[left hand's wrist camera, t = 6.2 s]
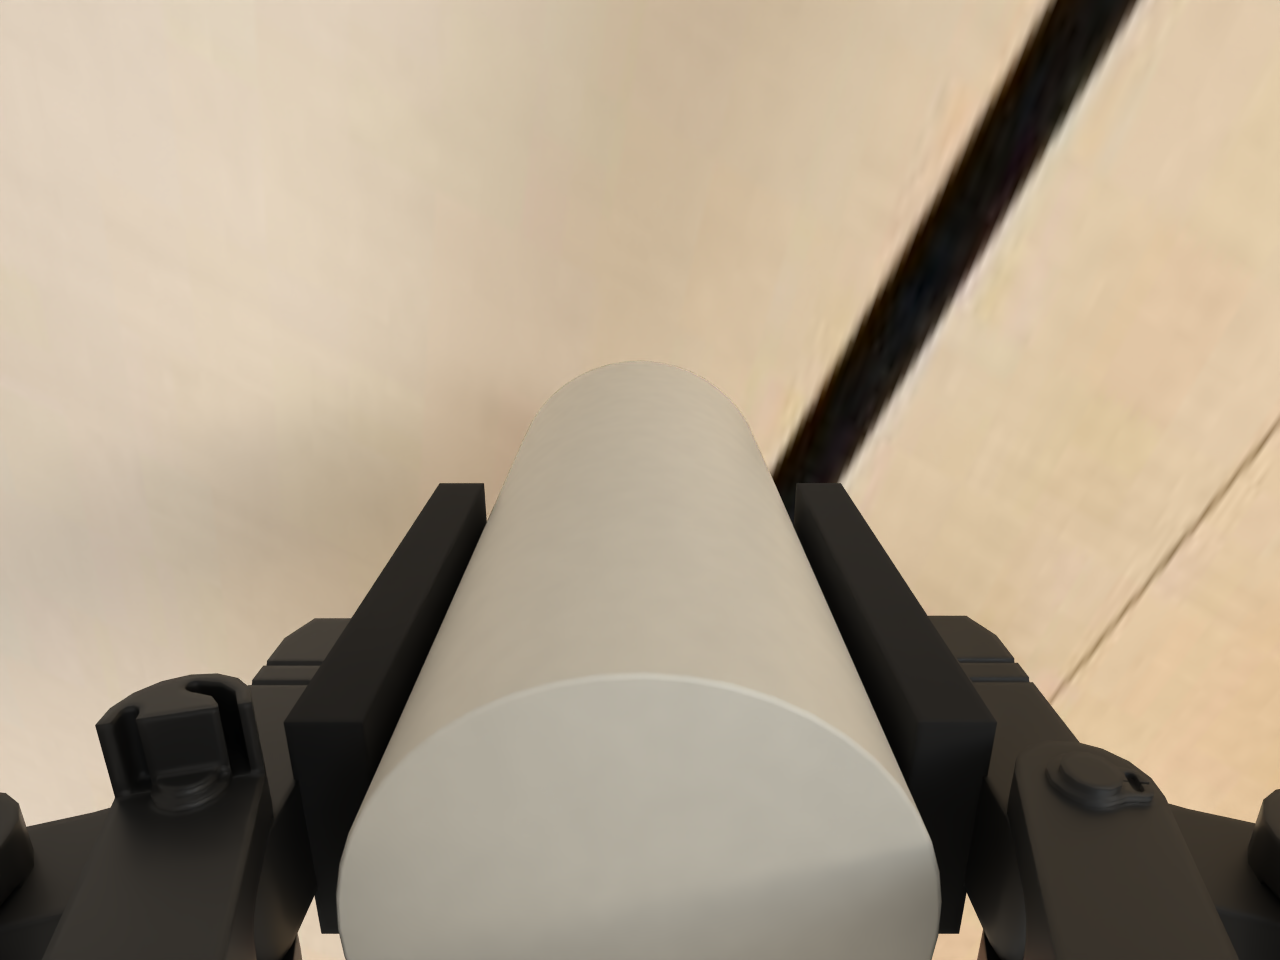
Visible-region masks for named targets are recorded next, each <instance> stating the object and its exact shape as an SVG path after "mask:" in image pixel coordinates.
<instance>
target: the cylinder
mask: <svg viewBox="0 0 1280 960" xmlns="http://www.w3.org/2000/svg"><path fill="white" fill-rule="evenodd" d="M941 903H942V901H941V887H940V872H939V868H938V864H937V860H936V856H935V852H934V848H933V844H932V841H931V839H930V836H929V834H928V832H927V829H926V827H925V825H924V823H923V820H922V818H921V816H920V814H919V811H918V809H917V807H916V804H915V802H914V800H913V798H912V795H911V793H910V791H909V789H908V786H907V784H906V782H905V779H904V777H903V775H902V773H901V770H900V768H899V766H898V764H897V761H896V759H895V757H894V754H893V752H892V750H891V748H890V745H889V743H888V741H887V739H886V736H885V734H884V732H883V729H882V727H881V725H880V723H879V720H878V718H877V716H876V713H875V711H874V709H873V707H872V704H871V702H870V700H869V698H868V695H867V693H866V691H865V688H864V686H863V684H862V682H861V679H860V677H859V675H858V673H857V670H856V668H855V666H854V663H853V661H852V659H851V657H850V654H849V652H848V650H847V648H846V645H845V643H844V641H843V638H842V636H841V634H840V632H839V629H838V627H837V625H836V622H835V620H834V618H833V616H832V613H831V611H830V609H829V607H828V604H827V602H826V600H825V597H824V595H823V593H822V591H821V588H820V586H819V584H818V582H817V579H816V577H815V575H814V572H813V570H812V568H811V566H810V563H809V561H808V559H807V557H806V554H805V552H804V550H803V547H802V545H801V543H800V541H799V538H798V536H797V534H796V532H795V529H794V527H793V525H792V522H791V520H790V518H789V516H788V513H787V511H786V509H785V506H784V504H783V502H782V500H781V497H780V495H779V493H778V491H777V488H776V486H775V484H774V481H773V479H772V477H771V475H770V472H769V470H768V468H767V466H766V463H765V461H764V459H763V456H762V454H761V452H760V450H759V447H758V445H757V443H756V441H755V438H754V436H753V434H752V431H751V429H750V427H749V425H748V423H747V421H746V420H745V418H744V417H743V415H742V413H741V412H740V410H739V409H738V408H737V407H736V406H735V404H734V403H733V402H732V401H731V400H730V398H728V397H727V396H726V395H725V394H724V393H723V392H722V391H721V390H720V389H719V388H717V387H716V386H714V385H713V384H712V383H710V382H709V381H707V380H706V379H704V378H702V377H700V376H698V375H696V374H694V373H692V372H691V371H688V370H685V369H682V368H679V367H677V366H673V365H669V364H664V363H659V362H649V361H629V362H621V363H615V364H609V365H606V366H603V367H600V368H596V369H593V370H591V371H589V372H587V373H585V374H582V375H580V376H578V377H576V378H575V379H573V380H572V381H570V382H569V383H567V384H566V385H564V386H563V387H562V388H561V389H559V390H558V391H557V392H556V393H555V394H553V395H552V396H551V397H550V398H549V400H548V401H547V402H546V403H545V404H544V405H543V406H542V407H541V409H540V410H539V412H538V413H537V415H536V416H535V418H534V419H533V421H532V423H531V425H530V427H529V429H528V431H527V433H526V435H525V437H524V440H523V442H522V444H521V446H520V449H519V451H518V453H517V455H516V458H515V460H514V462H513V464H512V467H511V469H510V471H509V473H508V476H507V478H506V480H505V482H504V485H503V487H502V489H501V491H500V494H499V496H498V498H497V500H496V503H495V505H494V507H493V509H492V512H491V514H490V516H489V518H488V521H487V523H486V525H485V527H484V530H483V532H482V534H481V536H480V539H479V541H478V543H477V545H476V548H475V550H474V552H473V554H472V557H471V559H470V561H469V563H468V566H467V568H466V570H465V572H464V575H463V577H462V579H461V581H460V584H459V586H458V588H457V590H456V593H455V595H454V597H453V599H452V602H451V604H450V606H449V608H448V611H447V613H446V615H445V617H444V620H443V622H442V624H441V627H440V629H439V631H438V633H437V636H436V638H435V640H434V642H433V645H432V647H431V649H430V651H429V654H428V656H427V658H426V660H425V663H424V665H423V667H422V669H421V672H420V674H419V676H418V678H417V681H416V683H415V685H414V687H413V690H412V692H411V694H410V696H409V699H408V701H407V703H406V705H405V708H404V710H403V712H402V714H401V717H400V719H399V721H398V723H397V726H396V728H395V730H394V732H393V735H392V737H391V739H390V741H389V744H388V746H387V748H386V750H385V753H384V755H383V757H382V759H381V762H380V764H379V766H378V768H377V771H376V773H375V775H374V777H373V780H372V782H371V784H370V786H369V789H368V791H367V793H366V795H365V798H364V800H363V802H362V804H361V807H360V809H359V811H358V813H357V816H356V818H355V820H354V822H353V825H352V827H351V829H350V831H349V834H348V837H347V840H346V844H345V847H344V850H343V854H342V857H341V860H340V864H339V872H338V880H337V889H336V904H337V921H338V930H339V934H340V939H341V943H342V947H343V951H344V956H345V959H346V960H931V959H932V956H933V952H934V949H935V945H936V942H937V938H938V932H939V923H940V913H941Z"/></svg>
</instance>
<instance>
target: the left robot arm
mask: <svg viewBox="0 0 1280 960" xmlns="http://www.w3.org/2000/svg"><path fill="white" fill-rule="evenodd" d="M486 523H487V520H486V506H485V492H484V483H440V484H439V485H438V487H437V488H436V490H435V491H434V493H433V494H432V496H431V497H430V499H429V501H428V502H427V504H426V505H425V507H424V508H423V510H422V511H421V513H420V514H419V516H418V517H417V519H416V520H415V522H414V523H413V525H412V527H411V528H410V530H409V531H408V533H407V534H406V536H405V537H404V539H403V540H402V542H401V543H400V545H399V546H398V548H397V549H396V551H395V552H394V554H393V556H392V557H391V559H390V560H389V562H388V563H387V565H386V566H385V568H384V569H383V571H382V572H381V574H380V575H379V577H378V578H377V580H376V582H375V583H374V585H373V586H372V588H371V589H370V591H369V592H368V594H367V595H366V597H365V598H364V600H363V601H362V603H361V604H360V606H359V608H358V609H357V611H356V612H355V614H354V615H353V617H352V618H315V619H313V620H312V621H310V622H309V623H307V624H306V625H304V626H303V627H301V628H299V629H298V630H296V631H295V632H293V633H292V634H290V635H289V636H287V637H286V638H284V640H283V641H282V642H281V644H280V645H279V646H278V647H277V649H276V650H275V651H274V653H273V654H272V655H271V657H270V658H269V659H268V660H267V666H263V667H262V668H261V670H260V671H259V672H258V673H257V675H256V676H255V677H254V679H253V680H252V685H248V686H247V685H246V684H245V683H243V682H242V681H241V680H240V679H238V678H235V677H231V676H226V675H222V674H195V675H187V676H183V677H179V678H174V679H170V680H165V681H161V682H159V683H157V684H154V685H152V686H149V687H147V688H144V689H142V690H140V691H137V692H135V693H133V694H131V695H130V696H128V697H127V698H125V699H124V700H122V701H120V702H119V703H117V704H116V705H114V706H113V707H111V708H110V709H109V710H108V711H107V712H106V713H105V715H104V716H103V717H102V718H101V719H100V720H99V721H98V723H97V724H96V725H95V726H96V730H97V733H98V737H99V741H100V744H101V748H102V752H103V755H104V759H105V762H106V766H107V770H108V773H109V777H110V780H111V784H112V788H113V791H114V795H115V799H114V802H113V804H112V806H111V808H108V809H104V810H100V811H97V812H93V813H89V814H84V815H79V816H75V817H70V818H65V819H61V820H56V821H51V822H47V823H42V824H38V825H33V826H28V827H26V825H25V821H24V818H23V815H22V812H21V809H20V806H19V803H17V802H16V801H15V800H14V799H12V798H11V797H10V796H9V795H7V794H6V793H0V960H302V955H301V948H300V943H299V938H298V930H299V928H300V926H301V924H302V922H303V919H304V917H305V915H306V913H307V911H308V908H309V906H310V904H311V902H312V900H313V897H314V895H315V900H316V906H317V911H318V917H319V922H320V928H321V933H322V934H339V930H338V921H337V904H336V889H337V880H338V872H339V864H340V860H341V857H342V854H343V850H344V847H345V844H346V840H347V837H348V834H349V831H350V829H351V827H352V825H353V822H354V820H355V818H356V816H357V813H358V811H359V809H360V807H361V804H362V802H363V800H364V798H365V795H366V793H367V791H368V789H369V786H370V784H371V782H372V780H373V777H374V775H375V773H376V771H377V768H378V766H379V764H380V762H381V759H382V757H383V755H384V753H385V750H386V748H387V746H388V744H389V741H390V739H391V737H392V735H393V732H394V730H395V728H396V726H397V723H398V721H399V719H400V717H401V714H402V712H403V710H404V708H405V705H406V703H407V701H408V699H409V696H410V694H411V692H412V690H413V687H414V685H415V683H416V681H417V678H418V676H419V674H420V672H421V669H422V667H423V665H424V663H425V660H426V658H427V656H428V654H429V651H430V649H431V647H432V645H433V642H434V640H435V638H436V636H437V633H438V631H439V629H440V627H441V624H442V622H443V620H444V617H445V615H446V613H447V611H448V608H449V606H450V604H451V602H452V599H453V597H454V595H455V593H456V590H457V588H458V586H459V584H460V581H461V579H462V577H463V575H464V572H465V570H466V568H467V566H468V563H469V561H470V559H471V557H472V554H473V552H474V550H475V548H476V545H477V543H478V541H479V539H480V536H481V534H482V532H483V530H484V527H485V525H486ZM794 529H795V532H796V534H797V536H798V538H799V541H800V543H801V545H802V547H803V550H804V552H805V554H806V557H807V559H808V561H809V563H810V566H811V568H812V570H813V572H814V575H815V577H816V579H817V582H818V584H819V586H820V588H821V591H822V593H823V595H824V597H825V600H826V602H827V604H828V607H829V609H830V611H831V613H832V616H833V618H834V620H835V622H836V625H837V627H838V629H839V632H840V634H841V636H842V638H843V641H844V643H845V645H846V648H847V650H848V652H849V654H850V657H851V659H852V661H853V663H854V666H855V668H856V670H857V673H858V675H859V677H860V679H861V682H862V684H863V686H864V688H865V691H866V693H867V695H868V698H869V700H870V702H871V704H872V707H873V709H874V711H875V713H876V716H877V718H878V720H879V723H880V725H881V727H882V729H883V732H884V734H885V736H886V739H887V741H888V743H889V745H890V748H891V750H892V752H893V754H894V757H895V759H896V761H897V764H898V766H899V768H900V770H901V773H902V775H903V777H904V779H905V782H906V784H907V786H908V789H909V791H910V793H911V795H912V798H913V800H914V802H915V804H916V807H917V809H918V811H919V814H920V816H921V818H922V820H923V823H924V825H925V827H926V829H927V832H928V834H929V836H930V839H931V841H932V844H933V848H934V852H935V856H936V860H937V864H938V868H939V872H940V887H941V901H942V903H941V913H940V923H939V932H938V934H959V931H960V925H961V920H962V914H963V909H964V903H965V898H966V892H967V894H968V896H969V899H970V901H971V903H972V905H973V907H974V910H975V912H976V914H977V916H978V918H979V920H980V923H981V925H982V927H983V933H982V938H981V943H980V948H979V953H978V958H977V960H1280V789H1277V790H1275V791H1274V792H1273V793H1271V794H1270V795H1269V796H1268V797H1266V798H1265V799H1264V800H1263V803H1262V806H1261V809H1260V812H1259V815H1258V818H1257V821H1256V824H1255V823H1251V822H1246V821H1241V820H1237V819H1232V818H1227V817H1223V816H1218V815H1213V814H1209V813H1204V812H1199V811H1195V810H1190V809H1186V808H1182V807H1179V806H1175V805H1172V804H1168V802H1167V800H1166V798H1165V796H1164V795H1163V793H1162V792H1161V791H1160V789H1159V788H1158V787H1157V785H1156V784H1155V783H1154V781H1153V780H1152V779H1151V778H1150V777H1149V776H1148V775H1146V774H1145V773H1144V772H1142V771H1141V770H1140V769H1138V768H1137V767H1136V766H1134V765H1133V764H1132V763H1130V762H1129V761H1127V760H1125V759H1123V758H1121V757H1119V756H1116V755H1114V754H1112V753H1110V752H1108V751H1106V750H1104V749H1101V748H1097V747H1094V746H1090V745H1086V744H1082V743H1080V742H1079V741H1078V740H1077V739H1076V737H1075V736H1074V735H1073V733H1072V732H1071V731H1070V730H1069V728H1068V727H1067V726H1066V724H1065V723H1064V722H1063V721H1062V719H1061V718H1060V717H1059V715H1058V714H1057V713H1056V712H1055V710H1054V709H1053V708H1052V706H1051V705H1050V704H1049V703H1048V701H1047V700H1046V699H1045V697H1044V696H1043V695H1042V694H1041V692H1040V691H1039V690H1038V688H1037V687H1036V686H1035V685H1034V683H1033V682H1029V677H1028V676H1027V674H1026V673H1025V672H1024V670H1023V669H1022V668H1021V666H1020V665H1019V664H1018V663H1014V657H1013V656H1012V655H1011V654H1010V652H1009V651H1008V650H1007V648H1006V647H1005V646H1004V645H1003V643H1002V642H1001V641H1000V639H999V638H998V637H997V636H996V635H995V634H993V633H992V632H990V631H989V630H987V629H986V628H984V627H983V626H981V625H980V624H978V623H976V622H975V621H973V620H972V619H970V618H969V617H967V616H927V614H926V613H925V611H924V610H923V608H922V607H921V605H920V604H919V602H918V600H917V599H916V597H915V596H914V594H913V593H912V591H911V590H910V588H909V587H908V585H907V584H906V582H905V581H904V579H903V578H902V576H901V575H900V573H899V571H898V570H897V568H896V567H895V565H894V564H893V562H892V561H891V559H890V558H889V556H888V555H887V553H886V552H885V550H884V549H883V547H882V545H881V544H880V542H879V541H878V539H877V538H876V536H875V535H874V533H873V532H872V530H871V529H870V527H869V526H868V524H867V523H866V521H865V520H864V518H863V516H862V515H861V513H860V512H859V510H858V509H857V507H856V506H855V504H854V503H853V501H852V500H851V498H850V497H849V495H848V494H847V492H846V491H845V489H844V487H843V486H842V484H841V483H797V486H796V500H795V514H794Z"/></svg>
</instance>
